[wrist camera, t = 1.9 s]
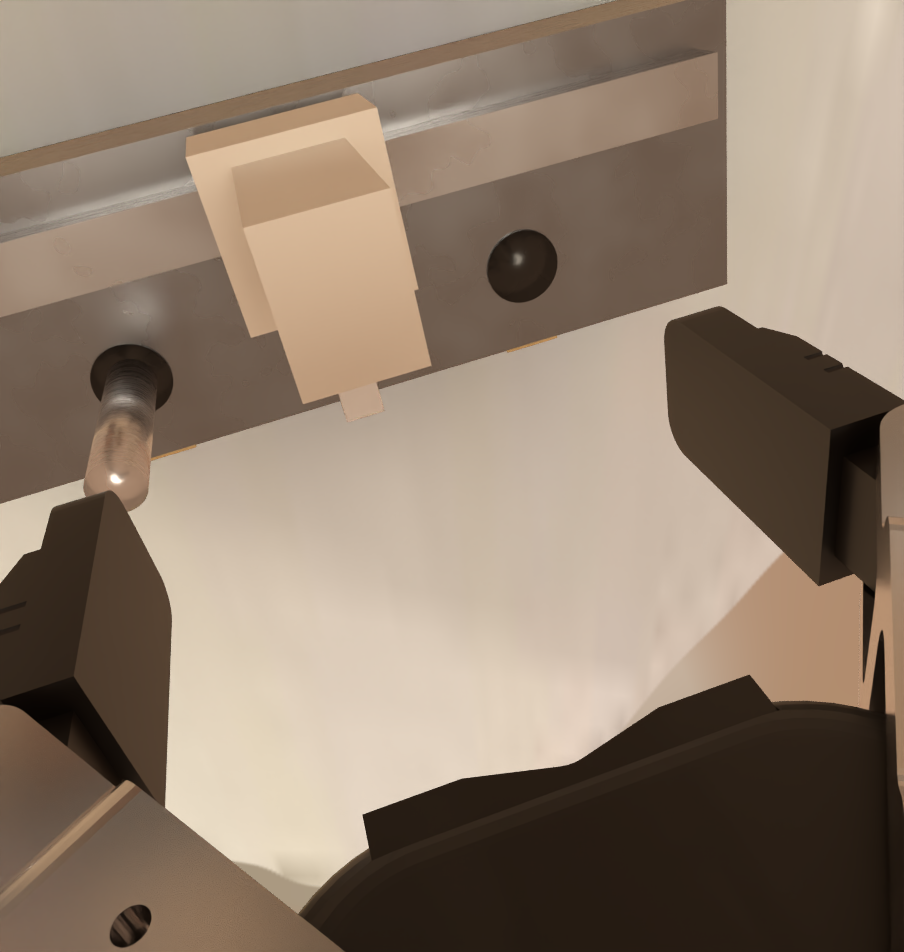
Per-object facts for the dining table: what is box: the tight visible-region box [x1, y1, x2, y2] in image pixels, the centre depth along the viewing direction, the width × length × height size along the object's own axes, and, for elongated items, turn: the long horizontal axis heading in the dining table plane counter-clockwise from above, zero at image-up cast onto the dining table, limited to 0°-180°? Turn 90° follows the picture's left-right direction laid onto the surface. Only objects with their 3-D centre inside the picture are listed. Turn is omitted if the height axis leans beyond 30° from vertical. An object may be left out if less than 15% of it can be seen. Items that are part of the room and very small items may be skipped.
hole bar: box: [0, 0, 727, 512], centre depth 26 cm, size 10×28×11 cm, turn 103°
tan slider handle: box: [185, 93, 432, 422], centre depth 22 cm, size 8×5×10 cm, turn 13°
